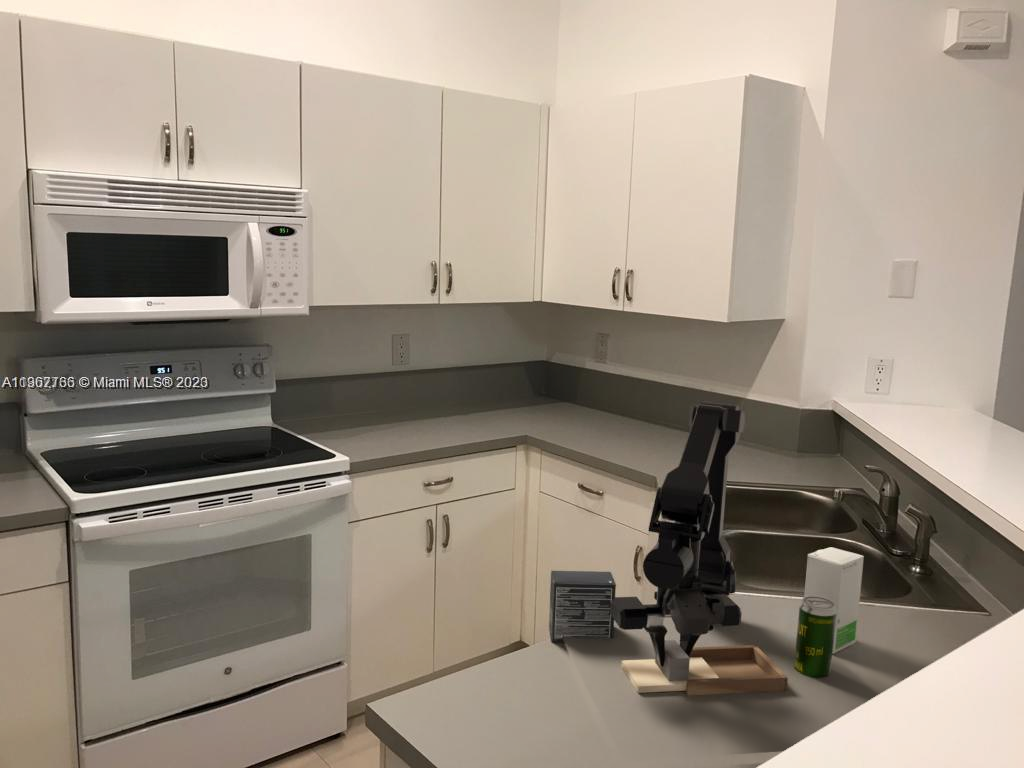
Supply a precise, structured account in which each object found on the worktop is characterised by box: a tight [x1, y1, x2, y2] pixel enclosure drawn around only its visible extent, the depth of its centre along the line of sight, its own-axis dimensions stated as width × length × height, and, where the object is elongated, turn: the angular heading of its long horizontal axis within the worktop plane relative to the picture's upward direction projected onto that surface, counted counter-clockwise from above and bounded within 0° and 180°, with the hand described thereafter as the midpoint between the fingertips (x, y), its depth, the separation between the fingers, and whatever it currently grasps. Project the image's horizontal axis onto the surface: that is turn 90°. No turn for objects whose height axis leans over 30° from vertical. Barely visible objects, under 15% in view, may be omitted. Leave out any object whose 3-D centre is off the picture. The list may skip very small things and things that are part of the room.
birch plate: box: [621, 639, 719, 694], centre depth 127 cm, size 8×13×4 cm, turn 100°
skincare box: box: [803, 546, 865, 655], centre depth 143 cm, size 8×7×16 cm
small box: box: [548, 570, 617, 644], centre depth 142 cm, size 11×6×10 cm, turn 92°
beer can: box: [793, 596, 836, 679], centre depth 131 cm, size 5×5×12 cm
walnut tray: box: [684, 644, 789, 696], centre depth 129 cm, size 11×15×3 cm
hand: (671, 664), depth 127 cm, fingers closed on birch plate, 3 cm apart
